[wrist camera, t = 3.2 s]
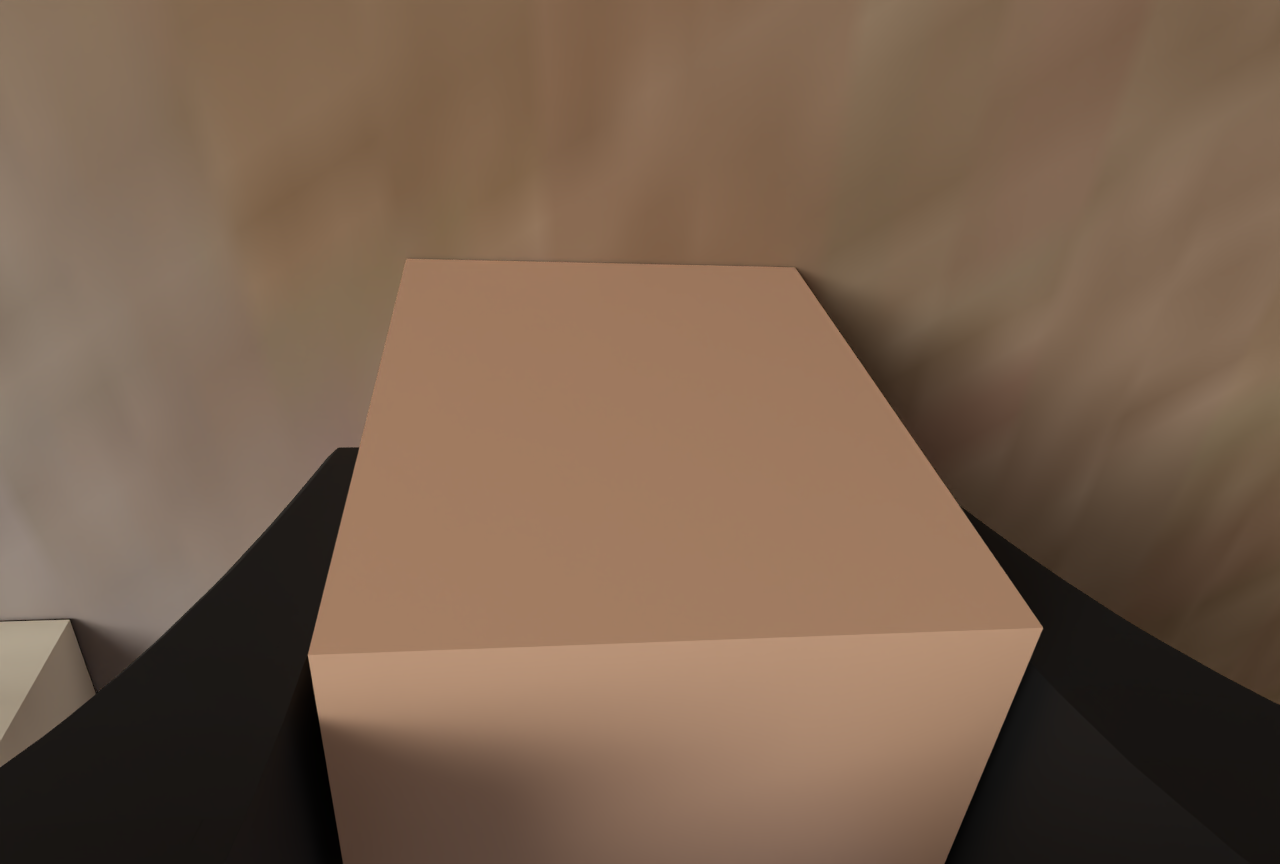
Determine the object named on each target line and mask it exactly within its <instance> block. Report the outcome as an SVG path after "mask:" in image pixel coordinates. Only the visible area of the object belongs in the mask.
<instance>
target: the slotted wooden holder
mask: <svg viewBox="0 0 1280 864" xmlns="http://www.w3.org/2000/svg"><path fill="white" fill-rule="evenodd" d="M95 694H96V693H95V690H94V687H93V684H92V682H91V679H90V676H89V673H88V670H87V667H86V665H85V662H84V659H83V656H82V653H81V650H80V648H79V645H78V642H77V639H76V636H75V633H74V631H73V628H72V625H71V622H70V620H41V621H8V622H0V767H1V766H3V765H4V764H5V763H7V762H8V761H9V760H11V759H12V758H14V757H15V756H16V755H18V754H19V753H21V752H22V751H23V750H25V749H26V748H28V747H29V746H30V745H32V744H33V743H35V742H36V741H37V740H39V739H40V738H42V737H43V736H44V735H45V734H47V733H48V732H49V731H51V730H52V729H53V728H55V727H56V726H57V725H58V724H60V723H61V722H62V721H64V720H65V719H66V718H67V717H69V716H70V715H71V714H72V713H73V712H75V711H76V710H77V709H78V708H80V707H81V706H82V705H83V704H84V703H86V702H87V701H88V700H89V699H91V698H92V697H93V696H94V695H95Z"/></svg>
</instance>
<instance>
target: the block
mask: <svg viewBox="0 0 1280 864" xmlns="http://www.w3.org/2000/svg"><path fill="white" fill-rule="evenodd" d="M1042 630H1043V627H1042V625H1041V624H1040V622H1039V621H1038V619H1037V618H1036V617H1035V615H1034V614H1033V612H1032V611H1031V609H1030V608H1029V606H1028V605H1027V604H1026V602H1025V601H1024V599H1023V598H1022V596H1021V595H1020V593H1019V592H1018V590H1017V589H1016V588H1015V586H1014V585H1013V583H1012V582H1011V580H1010V579H1009V577H1008V576H1007V574H1006V573H1005V572H1004V570H1003V569H1002V567H1001V566H1000V564H999V563H998V561H997V560H996V559H995V557H994V556H993V554H992V553H991V551H990V550H989V548H988V547H987V545H986V544H985V543H984V541H983V540H982V538H981V537H980V535H979V534H978V532H977V531H976V529H975V528H974V527H973V525H972V524H971V522H970V521H969V519H968V518H967V516H966V515H965V514H964V512H963V511H962V509H961V508H960V506H959V505H958V503H957V502H956V500H955V499H954V498H953V496H952V495H951V493H950V492H949V490H948V489H947V487H946V486H945V484H944V483H943V482H942V480H941V479H940V477H939V476H938V474H937V473H936V471H935V470H934V468H933V467H932V466H931V464H930V463H929V461H928V460H927V458H926V457H925V455H924V454H923V453H922V451H921V450H920V448H919V447H918V445H917V444H916V442H915V441H914V439H913V438H912V437H911V435H910V434H909V432H908V431H907V429H906V428H905V426H904V425H903V423H902V422H901V421H900V419H899V418H898V416H897V415H896V413H895V412H894V410H893V409H892V408H891V406H890V405H889V403H888V402H887V400H886V399H885V397H884V396H883V394H882V393H881V392H880V390H879V389H878V387H877V386H876V384H875V383H874V381H873V380H872V378H871V377H870V376H869V374H868V373H867V371H866V370H865V368H864V367H863V365H862V364H861V363H860V361H859V360H858V358H857V357H856V355H855V354H854V352H853V351H852V349H851V348H850V347H849V345H848V344H847V342H846V341H845V339H844V338H843V336H842V335H841V333H840V332H839V331H838V329H837V328H836V326H835V325H834V323H833V322H832V320H831V319H830V318H829V316H828V315H827V313H826V312H825V310H824V309H823V307H822V306H821V304H820V303H819V302H818V300H817V299H816V297H815V296H814V294H813V293H812V291H811V290H810V288H809V287H808V286H807V284H806V283H805V281H804V280H803V278H802V277H801V275H800V274H799V272H798V271H797V270H796V268H795V267H759V266H714V265H669V264H624V263H579V262H534V261H489V260H444V259H406V262H405V266H404V270H403V274H402V278H401V282H400V286H399V290H398V294H397V298H396V302H395V306H394V311H393V315H392V319H391V323H390V327H389V331H388V335H387V339H386V343H385V347H384V351H383V355H382V359H381V363H380V367H379V371H378V375H377V379H376V383H375V387H374V391H373V395H372V399H371V403H370V407H369V411H368V415H367V419H366V423H365V427H364V431H363V435H362V439H361V443H360V447H359V451H358V455H357V459H356V463H355V467H354V471H353V475H352V479H351V483H350V487H349V492H348V496H347V500H346V504H345V508H344V512H343V516H342V520H341V524H340V528H339V532H338V536H337V540H336V544H335V548H334V552H333V556H332V560H331V564H330V568H329V572H328V576H327V580H326V584H325V588H324V592H323V596H322V600H321V604H320V608H319V612H318V616H317V620H316V624H315V628H314V632H313V636H312V640H311V644H310V648H309V652H308V659H309V665H310V671H311V677H312V683H313V688H314V694H315V700H316V706H317V712H318V718H319V724H320V730H321V736H322V742H323V748H324V753H325V759H326V765H327V771H328V777H329V783H330V789H331V795H332V801H333V807H334V813H335V818H336V824H337V830H338V836H339V842H340V848H341V854H342V860H343V864H945V861H946V859H947V856H948V854H949V852H950V849H951V847H952V844H953V842H954V840H955V837H956V835H957V832H958V830H959V828H960V825H961V823H962V821H963V818H964V816H965V813H966V811H967V809H968V806H969V804H970V801H971V799H972V797H973V794H974V792H975V790H976V787H977V785H978V782H979V780H980V778H981V775H982V773H983V770H984V768H985V766H986V763H987V761H988V758H989V756H990V754H991V751H992V749H993V747H994V744H995V742H996V739H997V737H998V735H999V732H1000V730H1001V727H1002V725H1003V723H1004V720H1005V718H1006V715H1007V713H1008V711H1009V708H1010V706H1011V704H1012V701H1013V699H1014V696H1015V694H1016V692H1017V689H1018V687H1019V684H1020V682H1021V680H1022V677H1023V675H1024V673H1025V670H1026V668H1027V665H1028V663H1029V661H1030V658H1031V656H1032V653H1033V651H1034V649H1035V646H1036V644H1037V641H1038V639H1039V637H1040V634H1041V632H1042Z"/></svg>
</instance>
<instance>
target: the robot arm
mask: <svg viewBox="0 0 1280 864" xmlns="http://www.w3.org/2000/svg"><path fill="white" fill-rule="evenodd" d="M358 451H359V447H358V448H337V449H336V450H335V451H334V452H333V453H332V454H331V455H330V456H329V457H328V458H327V459H326V460H325V461H324V463H323V464H322V465H321V466H320V467H319V469H318V470H317V471H316V472H315V473H314V475H313V476H312V477H311V478H310V479H309V481H308V482H307V483H306V484H305V485H304V487H303V488H302V489H301V490H300V491H299V493H298V494H297V495H296V496H295V497H294V498H293V500H292V501H291V502H290V503H289V504H288V505H287V507H286V508H285V509H284V510H283V511H282V512H281V514H280V515H279V516H278V517H277V518H276V519H275V520H274V522H273V523H272V524H271V525H270V526H269V527H268V528H267V529H266V531H265V532H264V533H263V534H262V535H261V536H260V537H259V538H258V539H257V540H256V541H255V542H254V544H253V545H252V546H251V547H250V548H249V549H248V550H247V551H246V552H245V553H244V554H243V555H242V557H241V558H240V559H239V560H238V561H237V562H236V563H235V564H234V565H233V566H232V567H231V568H230V569H229V571H228V572H227V573H226V574H225V575H224V576H223V577H222V578H221V579H220V580H219V581H218V582H217V583H216V584H215V585H214V586H213V587H212V588H211V589H210V590H209V591H208V592H207V593H206V594H205V595H204V596H203V597H202V598H201V599H200V600H199V601H198V602H197V603H195V604H194V605H193V606H192V607H191V608H190V609H189V610H188V611H187V612H186V613H185V614H184V615H183V616H182V617H181V618H180V619H179V620H178V621H177V622H176V623H175V624H174V625H173V626H172V627H171V628H170V629H169V630H168V631H167V632H166V633H165V634H163V635H162V636H161V637H160V638H159V639H158V640H157V641H156V642H155V643H154V644H153V645H152V646H151V647H150V648H148V649H147V650H146V651H145V652H144V653H143V654H142V655H141V656H139V657H138V658H137V659H136V660H135V661H134V662H133V663H132V664H130V665H129V666H128V667H127V668H126V669H125V670H124V671H123V672H121V673H120V674H119V675H118V676H117V677H116V678H114V679H113V680H112V681H111V682H110V683H109V684H107V685H106V686H105V687H104V688H103V689H102V690H100V691H99V692H98V693H97V694H95V695H94V696H93V697H92V698H91V699H89V700H88V701H87V702H86V703H84V704H83V705H82V706H81V707H80V708H78V709H77V710H76V711H75V712H73V713H72V714H71V715H70V716H69V717H67V718H66V719H65V720H64V721H62V722H61V723H60V724H58V725H57V726H56V727H55V728H53V729H52V730H51V731H49V732H48V733H47V734H45V735H44V736H43V737H42V738H40V739H39V740H37V741H36V742H35V743H33V744H32V745H30V746H29V747H28V748H26V749H25V750H23V751H22V752H21V753H19V754H18V755H16V756H15V757H14V758H12V759H11V760H9V761H8V762H7V763H5V764H4V765H3V766H1V767H0V864H343V860H342V854H341V848H340V842H339V836H338V830H337V824H336V818H335V813H334V807H333V801H332V795H331V789H330V783H329V777H328V771H327V765H326V759H325V753H324V748H323V742H322V736H321V730H320V724H319V718H318V712H317V706H316V700H315V694H314V688H313V683H312V677H311V671H310V665H309V659H308V652H309V648H310V644H311V640H312V636H313V632H314V628H315V624H316V620H317V616H318V612H319V608H320V604H321V600H322V596H323V592H324V588H325V584H326V580H327V576H328V572H329V568H330V564H331V560H332V556H333V552H334V548H335V544H336V540H337V536H338V532H339V528H340V524H341V520H342V516H343V512H344V508H345V504H346V500H347V496H348V492H349V487H350V483H351V479H352V475H353V471H354V467H355V463H356V459H357V455H358ZM960 508H961V509H962V511H963V512H964V514H965V515H966V516H967V518H968V519H969V521H970V522H971V524H972V525H973V527H974V528H975V529H976V531H977V532H978V534H979V535H980V537H981V538H982V540H983V541H984V543H985V544H986V545H987V547H988V548H989V550H990V551H991V553H992V554H993V556H994V557H995V559H996V560H997V561H998V563H999V564H1000V566H1001V567H1002V569H1003V570H1004V572H1005V573H1006V574H1007V576H1008V577H1009V579H1010V580H1011V582H1012V583H1013V585H1014V586H1015V588H1016V589H1017V590H1018V592H1019V593H1020V595H1021V596H1022V598H1023V599H1024V601H1025V602H1026V604H1027V605H1028V606H1029V608H1030V609H1031V611H1032V612H1033V614H1034V615H1035V617H1036V618H1037V619H1038V621H1039V622H1040V624H1041V625H1042V627H1043V630H1042V632H1041V634H1040V637H1039V639H1038V641H1037V644H1036V646H1035V649H1034V651H1033V653H1032V656H1031V658H1030V661H1029V663H1028V665H1027V668H1026V670H1025V673H1024V675H1023V677H1022V680H1021V682H1020V684H1019V687H1018V689H1017V692H1016V694H1015V696H1014V699H1013V701H1012V704H1011V706H1010V708H1009V711H1008V713H1007V715H1006V718H1005V720H1004V723H1003V725H1002V727H1001V730H1000V732H999V735H998V737H997V739H996V742H995V744H994V747H993V749H992V751H991V754H990V756H989V758H988V761H987V763H986V766H985V768H984V770H983V773H982V775H981V778H980V780H979V782H978V785H977V787H976V790H975V792H974V794H973V797H972V799H971V801H970V804H969V806H968V809H967V811H966V813H965V816H964V818H963V821H962V823H961V825H960V828H959V830H958V832H957V835H956V837H955V840H954V842H953V844H952V847H951V849H950V852H949V854H948V856H947V859H946V861H945V864H1280V705H1278V704H1276V703H1274V702H1272V701H1270V700H1268V699H1266V698H1264V697H1262V696H1260V695H1258V694H1257V693H1255V692H1253V691H1251V690H1249V689H1247V688H1245V687H1243V686H1241V685H1239V684H1237V683H1235V682H1233V681H1232V680H1230V679H1228V678H1226V677H1224V676H1222V675H1220V674H1219V673H1217V672H1215V671H1213V670H1212V669H1210V668H1208V667H1206V666H1204V665H1203V664H1201V663H1199V662H1197V661H1196V660H1194V659H1192V658H1190V657H1188V656H1187V655H1185V654H1183V653H1181V652H1180V651H1178V650H1176V649H1174V648H1172V647H1171V646H1169V645H1167V644H1165V643H1164V642H1162V641H1160V640H1158V639H1157V638H1155V637H1153V636H1151V635H1150V634H1148V633H1146V632H1145V631H1143V630H1141V629H1140V628H1138V627H1136V626H1135V625H1133V624H1131V623H1130V622H1128V621H1126V620H1125V619H1123V618H1122V617H1120V616H1118V615H1117V614H1115V613H1114V612H1112V611H1111V610H1109V609H1107V608H1106V607H1104V606H1103V605H1101V604H1100V603H1098V602H1097V601H1095V600H1094V599H1092V598H1091V597H1089V596H1087V595H1086V594H1084V593H1083V592H1081V591H1080V590H1078V589H1077V588H1075V587H1074V586H1072V585H1071V584H1069V583H1068V582H1066V581H1064V580H1063V579H1061V578H1060V577H1058V576H1057V575H1056V574H1054V573H1053V572H1051V571H1050V570H1048V569H1047V568H1045V567H1044V566H1042V565H1041V564H1040V563H1038V562H1037V561H1035V560H1034V559H1032V558H1031V557H1029V556H1028V555H1027V554H1025V553H1024V552H1022V551H1021V550H1020V549H1018V548H1017V547H1015V546H1014V545H1012V544H1011V543H1010V542H1008V541H1007V540H1006V539H1004V538H1003V537H1001V536H1000V535H999V534H997V533H996V532H995V531H993V530H992V529H990V528H989V527H988V526H986V525H985V524H984V523H982V522H981V521H979V520H978V519H977V518H975V517H974V516H973V515H971V514H970V513H969V512H967V511H966V510H965V509H963V508H962V507H961V506H960Z"/></svg>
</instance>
